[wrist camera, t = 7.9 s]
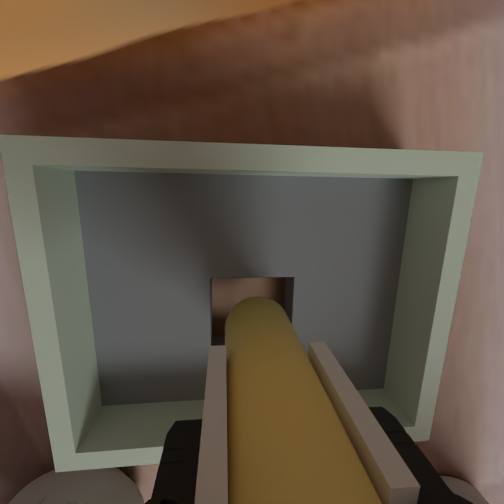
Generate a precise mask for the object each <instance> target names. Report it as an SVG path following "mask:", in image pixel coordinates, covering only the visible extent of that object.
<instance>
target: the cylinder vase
mask: <svg viewBox="0 0 504 504" xmlns="http://www.w3.org/2000/svg"><path fill="white" fill-rule="evenodd" d="M440 477H441V478H442V479H443V481H444V482H445V483H446V485H447V486H448V487H449V489H450V490H451V491H452V492H453V493H454V494H456V495H459V496H461V497H463V498H465V499H466V500H468V501H470V502H472V503H473V504H489V503H488V502H487V501H486V500H485V498H484V497H483V496H482V495H481V494H480V493H479V492H478V491H477V490H476V489H475V488H474V487H473V486H472V485H470V484H469V483H467V482H465V481H463V480H461V479H458V478H455V477H450V476H440Z"/></svg>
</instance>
